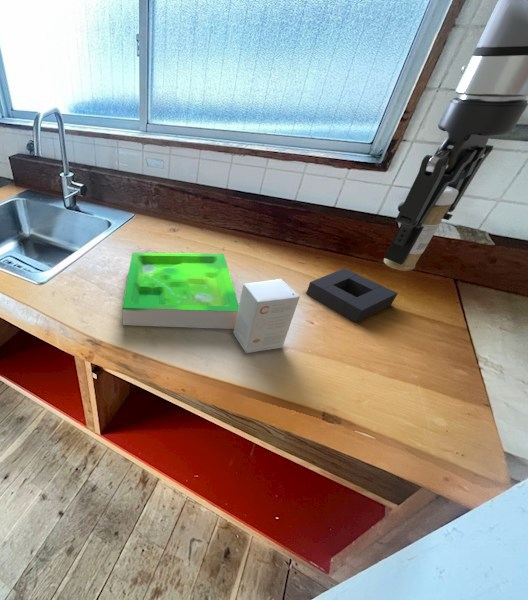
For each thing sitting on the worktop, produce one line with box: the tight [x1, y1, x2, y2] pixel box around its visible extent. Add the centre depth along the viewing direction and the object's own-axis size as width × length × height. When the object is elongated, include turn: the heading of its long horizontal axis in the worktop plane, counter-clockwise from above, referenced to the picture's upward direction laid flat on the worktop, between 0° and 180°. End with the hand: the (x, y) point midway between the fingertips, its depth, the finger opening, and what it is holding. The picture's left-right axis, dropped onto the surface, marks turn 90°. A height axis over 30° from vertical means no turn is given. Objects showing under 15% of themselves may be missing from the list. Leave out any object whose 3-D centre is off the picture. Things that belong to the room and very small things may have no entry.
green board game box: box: [121, 252, 239, 330], centre depth 80 cm, size 25×25×5 cm
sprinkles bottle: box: [383, 186, 458, 272], centre depth 52 cm, size 5×5×14 cm
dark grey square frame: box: [305, 267, 399, 324], centre depth 76 cm, size 13×13×4 cm
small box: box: [233, 278, 300, 354], centre depth 63 cm, size 8×6×13 cm
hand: (402, 256), depth 55 cm, fingers closed on sprinkles bottle, 4 cm apart
